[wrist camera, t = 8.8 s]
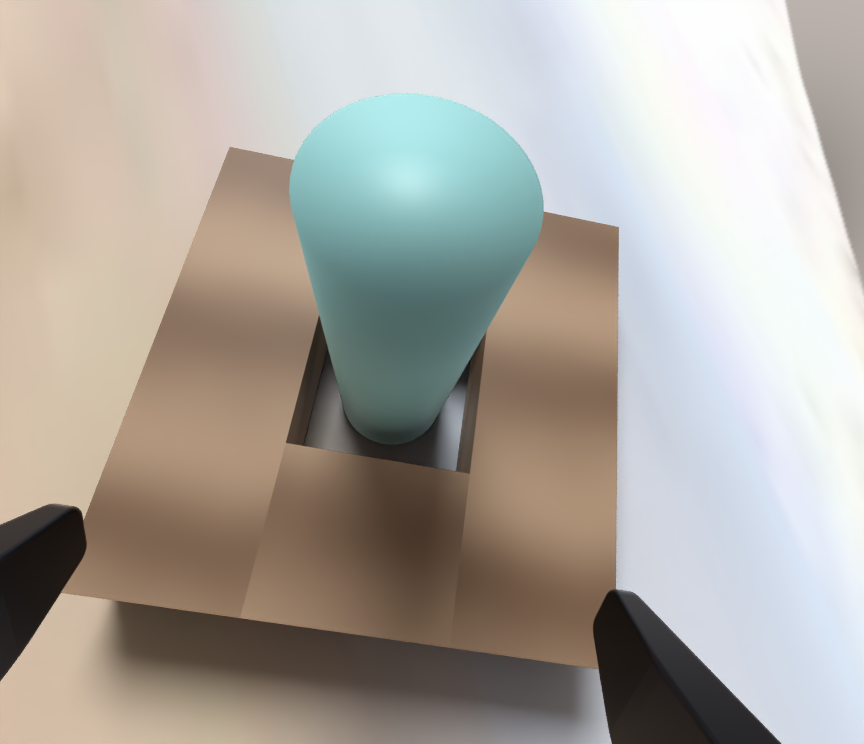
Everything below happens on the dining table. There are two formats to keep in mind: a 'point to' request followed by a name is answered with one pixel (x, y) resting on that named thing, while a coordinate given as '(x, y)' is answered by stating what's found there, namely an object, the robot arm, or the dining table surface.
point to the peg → (410, 248)
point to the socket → (359, 475)
